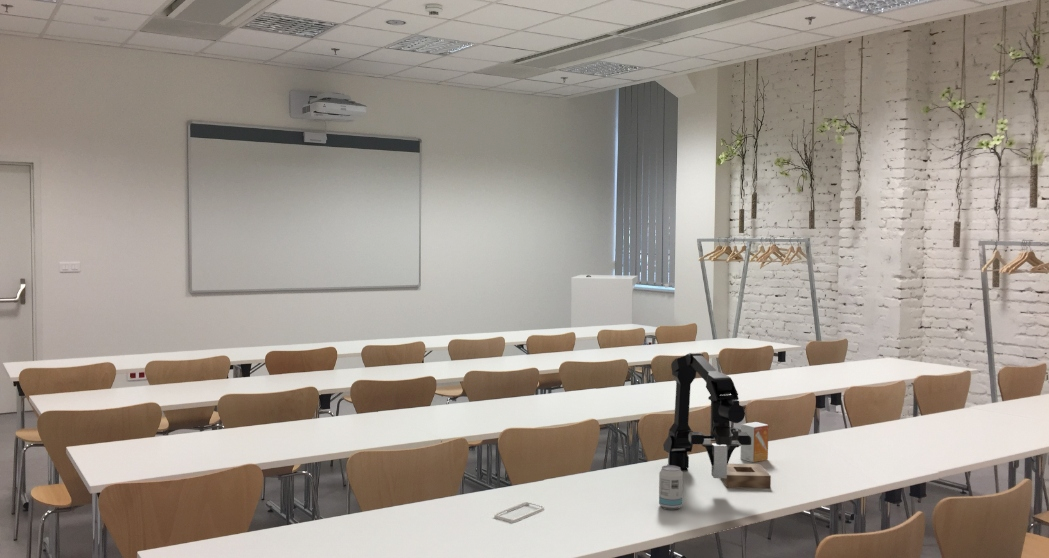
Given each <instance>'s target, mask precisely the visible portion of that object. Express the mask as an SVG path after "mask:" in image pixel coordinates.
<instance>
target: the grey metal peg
mask: <svg viewBox="0 0 1049 558" xmlns="http://www.w3.org/2000/svg"><path fill="white" fill-rule="evenodd" d="M711 444H712V446H713V448H712V451H713V465H711V476H712V478H714V479H721V478H727V446H726V445H717V444H716V442H715V443H712V442H711Z"/></svg>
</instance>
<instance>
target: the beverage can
mask: <svg viewBox="0 0 1049 558" xmlns="http://www.w3.org/2000/svg"><path fill="white" fill-rule="evenodd" d="M658 475H659V476H658V477H659V478H658V482H659V483H658V484H659V485H658V504H659V506H660V507H662V508H663V509H665V510H667V511H668V510H670V511H671V510H672V511H675V510H676V511H677V510H678V509H680V508H681V507H682V506H683V485H684V484H683V481H684V479H683V478H684V477H683V476H684V474H683V471H681V470H680V467H678V466H673V465H662V466H661V468H660V470H659V474H658Z"/></svg>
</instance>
